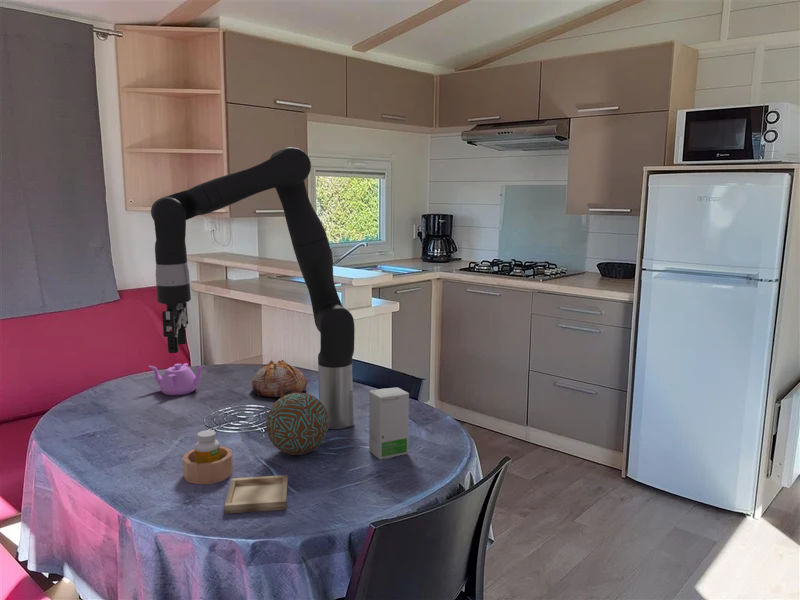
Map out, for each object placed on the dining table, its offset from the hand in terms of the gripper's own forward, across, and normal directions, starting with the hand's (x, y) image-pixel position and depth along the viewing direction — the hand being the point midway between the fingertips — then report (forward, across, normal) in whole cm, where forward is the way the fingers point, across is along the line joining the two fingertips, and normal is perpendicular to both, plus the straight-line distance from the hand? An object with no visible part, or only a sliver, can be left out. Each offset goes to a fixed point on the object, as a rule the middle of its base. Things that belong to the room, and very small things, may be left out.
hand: (177, 348), depth 152 cm
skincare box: (+26, -8, -50) cm, 57 cm away
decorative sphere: (+26, -6, -28) cm, 39 cm away
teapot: (+26, +47, +12) cm, 55 cm away
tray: (+26, -28, -21) cm, 43 cm away
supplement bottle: (+26, -15, -9) cm, 31 cm away
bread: (+26, +44, -20) cm, 55 cm away
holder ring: (+26, -15, -9) cm, 31 cm away
